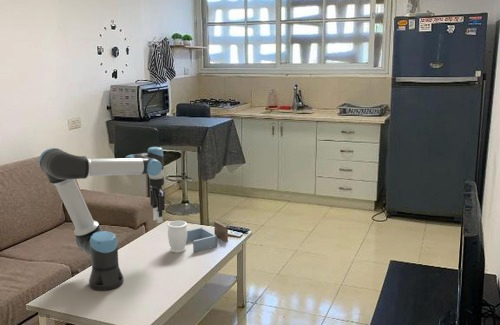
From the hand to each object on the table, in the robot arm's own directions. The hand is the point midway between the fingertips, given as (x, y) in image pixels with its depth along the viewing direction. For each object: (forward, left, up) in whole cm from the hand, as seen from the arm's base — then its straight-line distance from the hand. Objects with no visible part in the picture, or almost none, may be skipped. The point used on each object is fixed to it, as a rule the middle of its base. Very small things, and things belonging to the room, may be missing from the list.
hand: (158, 221), depth 252 cm
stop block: (+39, +1, -19) cm, 43 cm away
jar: (+11, 0, -19) cm, 22 cm away
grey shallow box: (+23, 0, -19) cm, 30 cm away
